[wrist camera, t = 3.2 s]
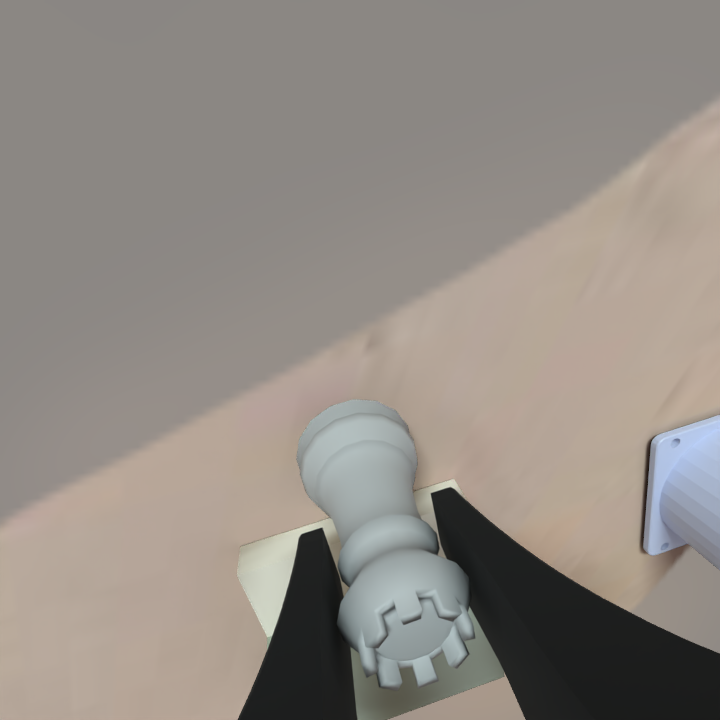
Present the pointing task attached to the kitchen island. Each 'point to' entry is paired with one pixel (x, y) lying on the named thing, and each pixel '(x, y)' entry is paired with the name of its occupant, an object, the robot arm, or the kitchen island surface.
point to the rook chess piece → (384, 544)
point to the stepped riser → (373, 704)
